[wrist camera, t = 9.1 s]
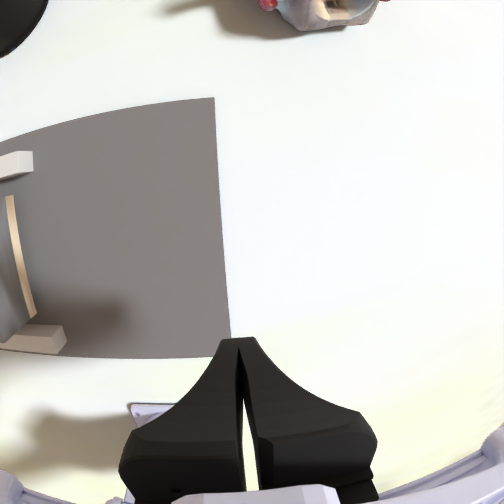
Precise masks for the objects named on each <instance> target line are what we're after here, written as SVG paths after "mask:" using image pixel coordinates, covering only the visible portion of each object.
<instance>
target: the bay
mask: <svg viewBox="0 0 504 504" xmlns="http://www.w3.org/2000/svg"><path fill="white" fill-rule="evenodd" d="M10 195H13V197H14V205H15V208H16V210H15V214H16V221H17V228H18V234H19V240H20V245H21V251H22V256H23V261H24V265H25V270H26V274H27V278H28V282H29V286H30V290H31V293H32V295H33V301H34V305H35V308H36V312H37V314H35V315H34V316H33V317H32V318H31V319H30V320H29V321H28V322H27V323H26V324H25V325H23V326H22V327H21V328H20V329H19V330H18V331H17V332H16V333H15V334H14V335H13V336H12V337H11V338H10V339H9V340H8V341H7V342H6V343H0V350H7V351H15V352H24V353H33V354H44V355H56V356H70V357H88V358H117V359H168V358H198V357H214V355H215V353H216V351H217V349H218V346H219V343H220V341H221V340H222V339H230V338H231V330H230V320H229V309H228V298H227V286H226V274H225V262H224V249H223V236H222V222H221V208H220V193H219V177H218V161H217V143H216V123H215V102H214V97H212V98H200V99H190V100H180V101H172V102H164V103H157V104H150V105H143V106H137V107H131V108H125V109H120V110H115V111H110V112H105V113H100V114H96V115H91V116H87V117H82V118H78V119H74V120H70V121H66V122H63V123H59V124H55V125H52V126H48V127H45V128H42V129H38V130H35V131H32V132H29V133H26V134H23V135H20V136H17V137H14V138H11V139H8V140H5V141H3V142H0V197H5V196H10Z"/></svg>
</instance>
